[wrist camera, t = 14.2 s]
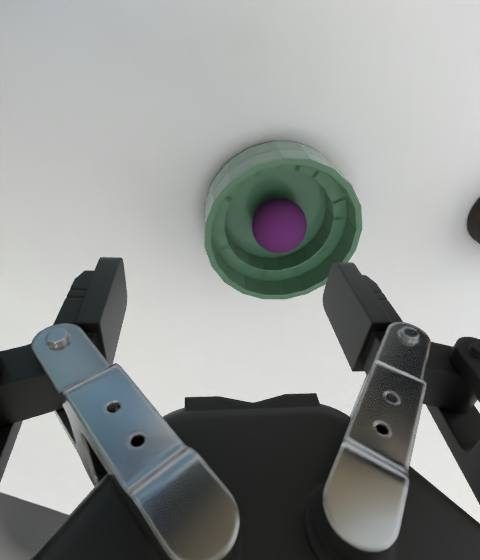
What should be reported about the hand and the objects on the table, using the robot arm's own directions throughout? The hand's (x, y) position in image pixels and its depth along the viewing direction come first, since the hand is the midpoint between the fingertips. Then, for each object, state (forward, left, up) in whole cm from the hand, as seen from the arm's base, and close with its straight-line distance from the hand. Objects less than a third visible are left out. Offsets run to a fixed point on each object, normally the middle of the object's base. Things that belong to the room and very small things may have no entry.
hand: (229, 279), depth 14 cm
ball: (+7, -8, -21) cm, 24 cm away
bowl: (+7, -8, -25) cm, 27 cm away
